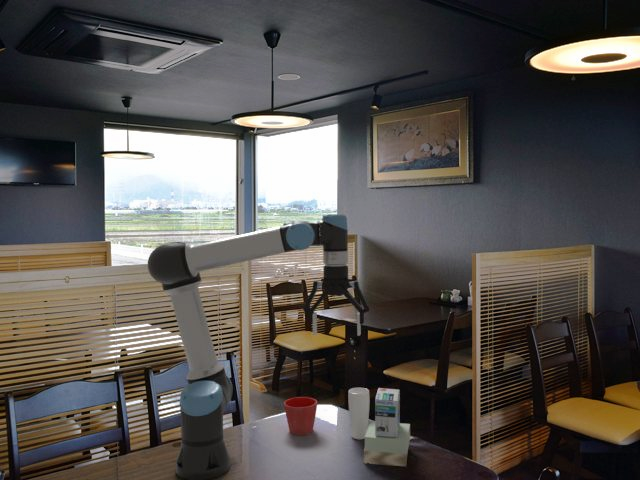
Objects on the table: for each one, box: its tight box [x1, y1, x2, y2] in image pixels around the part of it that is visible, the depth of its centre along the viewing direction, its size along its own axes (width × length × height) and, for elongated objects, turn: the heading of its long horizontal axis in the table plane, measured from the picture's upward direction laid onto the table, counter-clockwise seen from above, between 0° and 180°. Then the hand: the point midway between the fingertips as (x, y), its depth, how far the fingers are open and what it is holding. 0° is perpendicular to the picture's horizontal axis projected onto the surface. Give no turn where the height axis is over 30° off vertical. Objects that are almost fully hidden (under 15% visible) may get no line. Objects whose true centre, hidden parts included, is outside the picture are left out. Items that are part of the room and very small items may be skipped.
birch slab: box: [363, 447, 408, 467], centre depth 162 cm, size 12×12×4 cm
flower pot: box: [283, 396, 318, 436], centre depth 181 cm, size 11×11×10 cm
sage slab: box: [364, 420, 411, 455], centre depth 161 cm, size 12×12×4 cm
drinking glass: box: [347, 387, 371, 440], centre depth 175 cm, size 7×7×15 cm
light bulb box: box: [374, 387, 401, 438], centre depth 161 cm, size 11×7×11 cm, turn 169°
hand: (336, 334), depth 168 cm, fingers open, 13 cm apart
